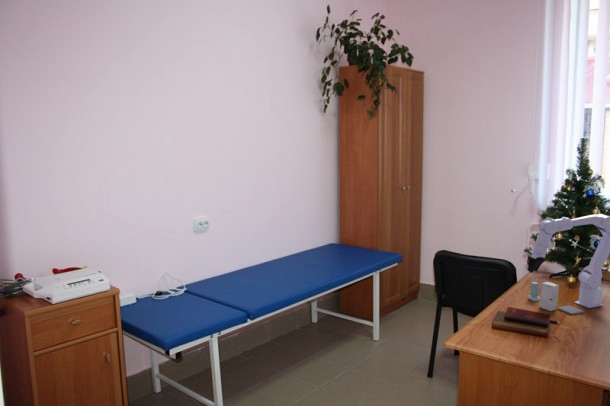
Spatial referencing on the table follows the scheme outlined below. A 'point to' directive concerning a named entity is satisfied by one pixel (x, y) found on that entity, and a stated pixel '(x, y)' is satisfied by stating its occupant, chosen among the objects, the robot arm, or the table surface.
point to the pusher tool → (534, 292)
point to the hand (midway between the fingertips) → (532, 271)
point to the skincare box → (549, 296)
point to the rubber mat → (570, 310)
